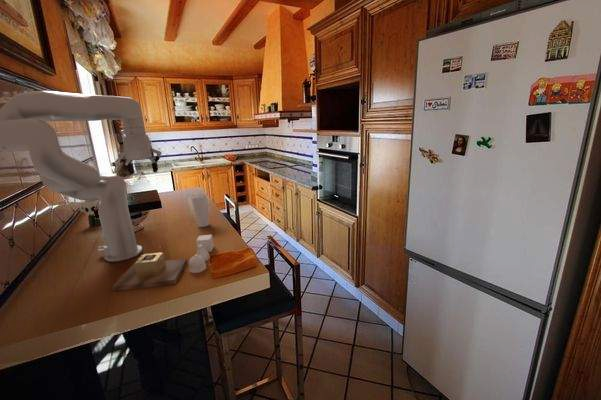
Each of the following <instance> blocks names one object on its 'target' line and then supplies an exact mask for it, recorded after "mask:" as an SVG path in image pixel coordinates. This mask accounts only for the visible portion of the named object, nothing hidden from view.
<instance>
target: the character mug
mask: <svg viewBox="0 0 601 400" xmlns="http://www.w3.org/2000/svg"><path fill="white" fill-rule="evenodd" d="M98 201H99V202H100V200H91V201H85V200H83V201H82V202H81V204H82V205H79V206H78V207H79V211H80V212H83V213H84V214H86V215H88V216H87V217H88V226H89V227H94V226H101V222H100V219H95V216H94V208H95V206H96V205H97V203H98Z"/></svg>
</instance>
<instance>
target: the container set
mask: <svg viewBox="0 0 601 400" xmlns="http://www.w3.org/2000/svg"><path fill="white" fill-rule="evenodd" d="M195 242H196V249H197V251H196V254H194V255H193V256H192V257H190V259H189V260H188V265H189V272H190V273H192V274H197V273H201V272H204V271H205V270H206V269H207V266H206V262H207V261H208V260H209V259H210V258H211V257H210V254H209V253H210V252H213V250H214V246H215V244H214V237H213V235H212V234H202V235H198V236H197V239H196V241H195Z"/></svg>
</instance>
